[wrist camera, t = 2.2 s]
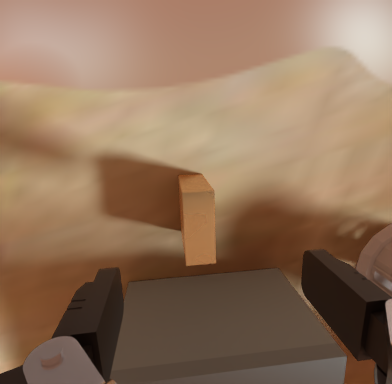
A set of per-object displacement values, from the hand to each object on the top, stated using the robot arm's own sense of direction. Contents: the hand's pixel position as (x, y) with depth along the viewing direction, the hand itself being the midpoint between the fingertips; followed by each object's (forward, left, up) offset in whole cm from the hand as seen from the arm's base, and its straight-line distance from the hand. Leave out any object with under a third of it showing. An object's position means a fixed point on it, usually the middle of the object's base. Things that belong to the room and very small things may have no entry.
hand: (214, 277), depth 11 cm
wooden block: (0, 0, -12) cm, 12 cm away
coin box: (-1, +15, -12) cm, 19 cm away
